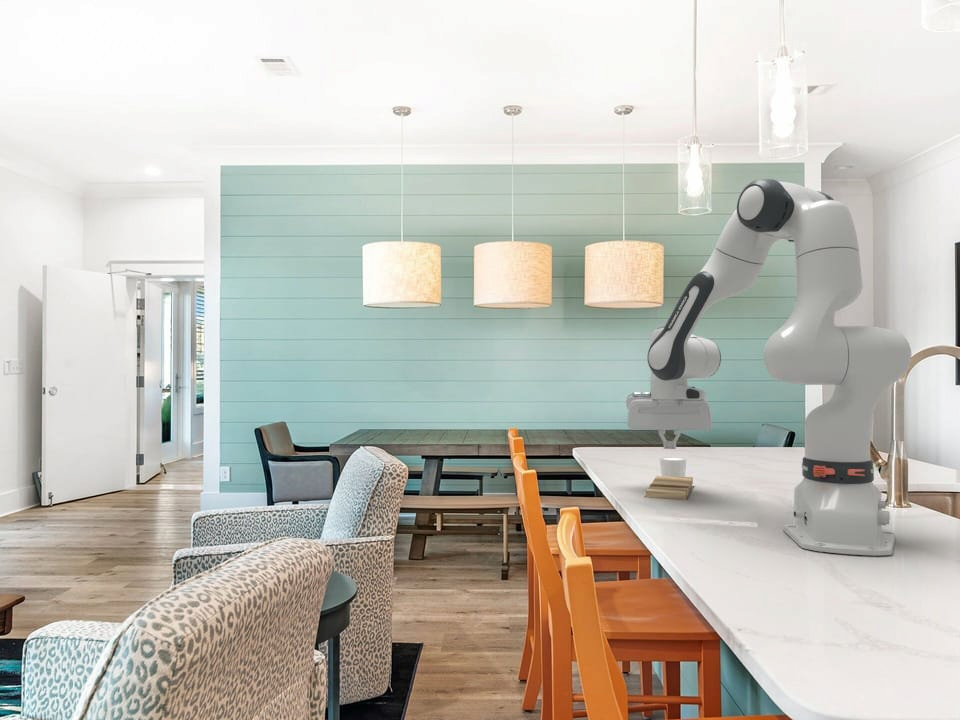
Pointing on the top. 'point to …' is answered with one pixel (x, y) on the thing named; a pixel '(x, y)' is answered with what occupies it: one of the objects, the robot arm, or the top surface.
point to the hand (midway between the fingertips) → (669, 448)
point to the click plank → (673, 481)
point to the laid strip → (667, 492)
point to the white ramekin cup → (673, 466)
